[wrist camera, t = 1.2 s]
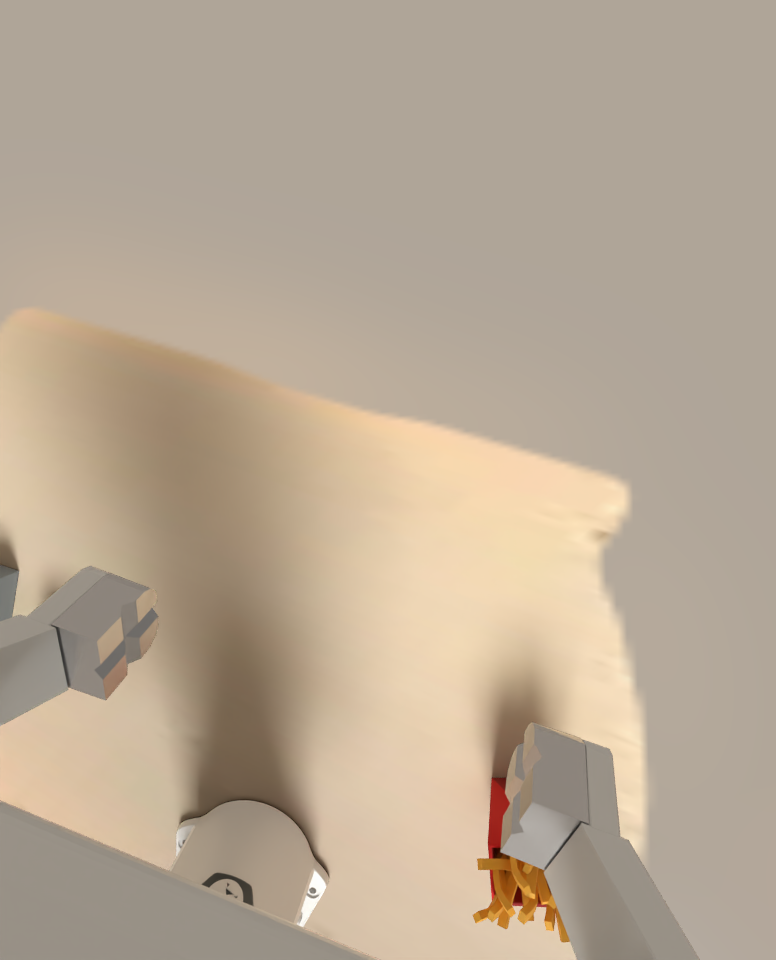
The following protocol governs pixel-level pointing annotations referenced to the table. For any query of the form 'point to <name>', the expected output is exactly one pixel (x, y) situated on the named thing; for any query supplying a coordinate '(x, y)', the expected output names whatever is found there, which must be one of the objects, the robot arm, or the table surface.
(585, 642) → the table surface
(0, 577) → the slate plinth
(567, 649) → the table surface
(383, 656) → the table surface
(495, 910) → the french fries
